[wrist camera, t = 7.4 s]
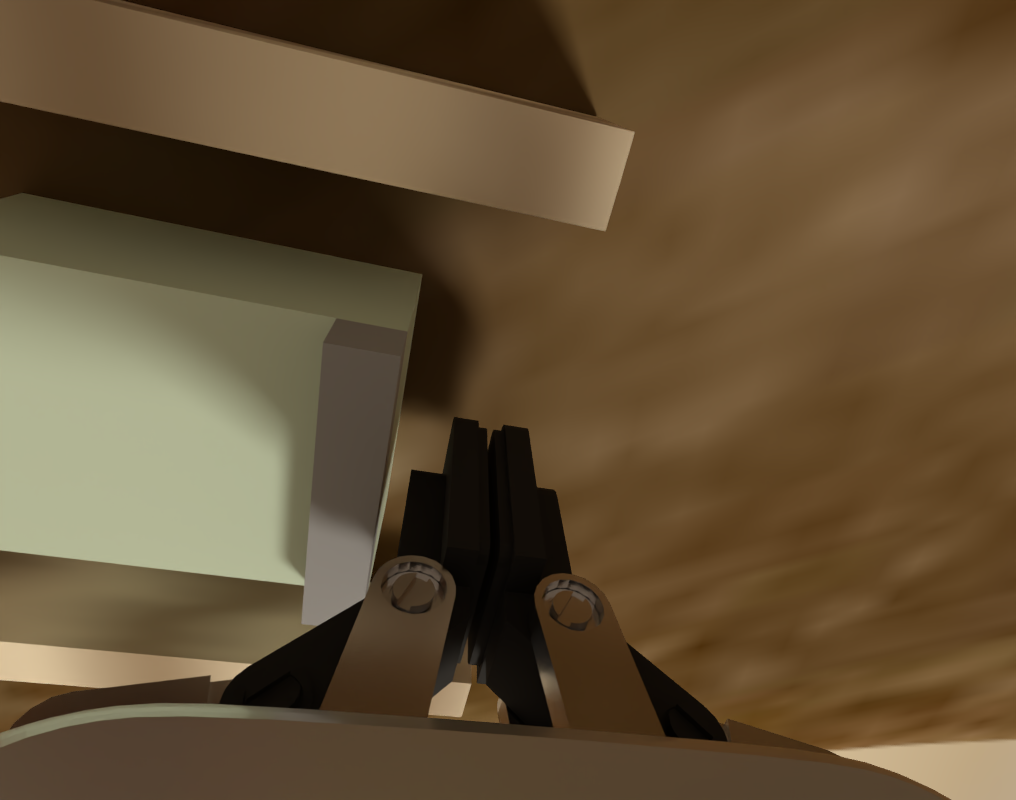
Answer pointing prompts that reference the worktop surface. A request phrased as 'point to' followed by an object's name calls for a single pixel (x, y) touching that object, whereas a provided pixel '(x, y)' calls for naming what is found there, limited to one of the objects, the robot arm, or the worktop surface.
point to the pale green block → (196, 399)
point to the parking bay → (286, 138)
